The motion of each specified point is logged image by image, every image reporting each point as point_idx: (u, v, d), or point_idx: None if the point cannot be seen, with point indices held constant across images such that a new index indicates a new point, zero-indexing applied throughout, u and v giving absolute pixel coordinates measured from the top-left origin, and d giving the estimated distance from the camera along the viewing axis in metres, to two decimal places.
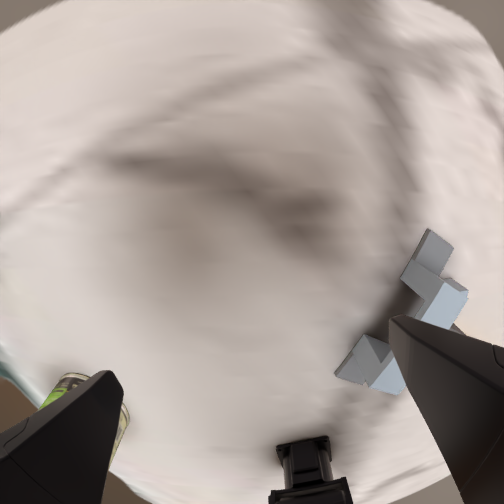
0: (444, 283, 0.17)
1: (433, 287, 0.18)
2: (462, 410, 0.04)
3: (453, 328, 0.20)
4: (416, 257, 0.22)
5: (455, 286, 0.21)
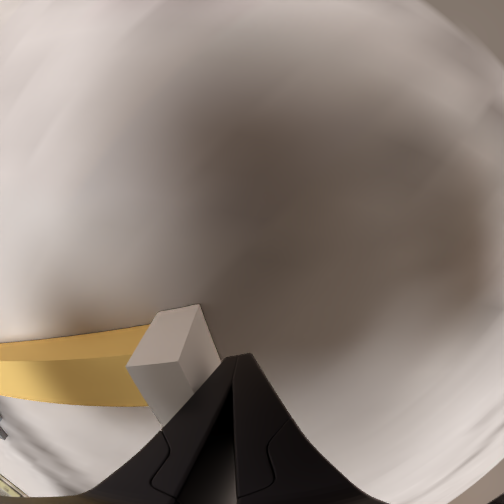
0: None
1: None
2: None
3: None
4: None
5: None
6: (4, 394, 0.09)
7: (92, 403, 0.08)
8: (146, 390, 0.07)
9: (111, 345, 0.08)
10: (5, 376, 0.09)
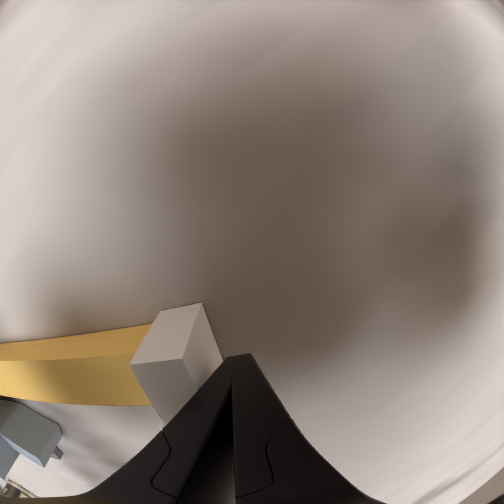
0: None
1: None
2: None
3: None
4: None
5: None
6: (4, 394, 0.09)
7: (94, 402, 0.08)
8: (149, 388, 0.07)
9: (113, 344, 0.08)
10: (6, 376, 0.09)
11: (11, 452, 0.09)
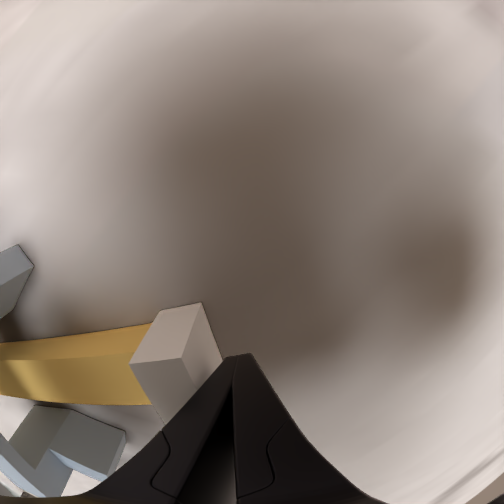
0: None
1: None
2: None
3: None
4: None
5: None
6: (4, 394, 0.09)
7: (94, 402, 0.08)
8: (149, 387, 0.07)
9: (113, 344, 0.08)
10: (7, 376, 0.09)
11: (63, 470, 0.08)
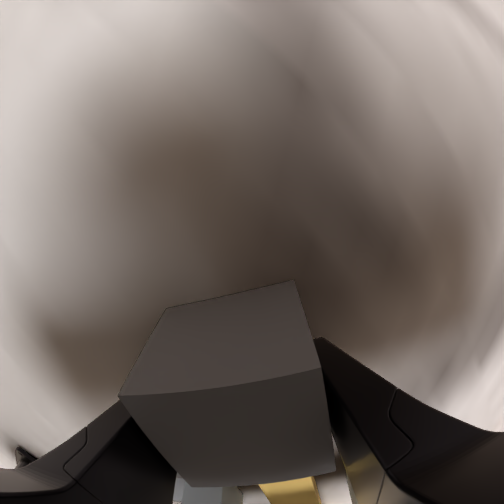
0: None
1: None
2: (353, 454, 0.04)
3: None
4: None
5: None
6: (269, 498, 0.10)
7: None
8: None
9: None
10: None
11: None
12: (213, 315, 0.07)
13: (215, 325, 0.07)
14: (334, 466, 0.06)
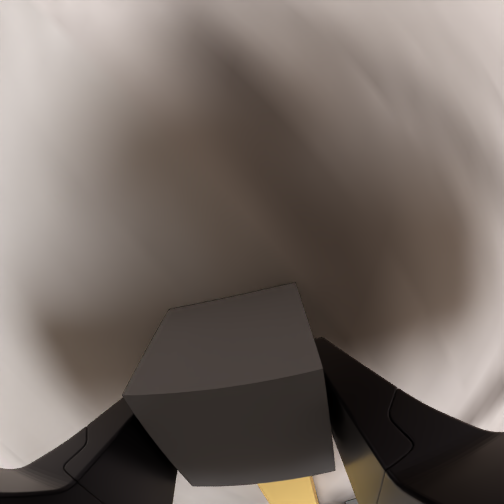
0: None
1: None
2: (353, 454, 0.04)
3: None
4: None
5: None
6: (268, 498, 0.10)
7: None
8: None
9: None
10: None
11: None
12: (216, 317, 0.08)
13: (218, 326, 0.07)
14: (333, 466, 0.06)
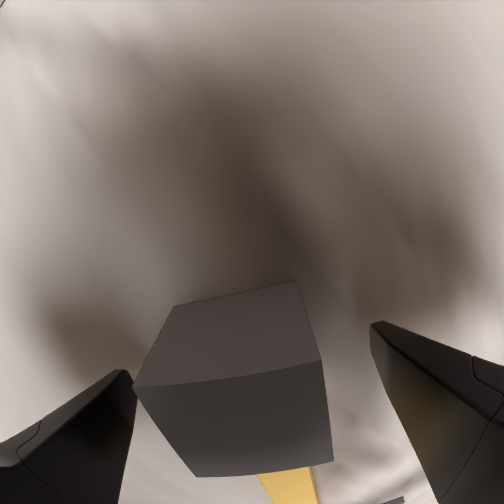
0: None
1: None
2: (437, 422, 0.04)
3: None
4: None
5: None
6: (268, 492, 0.10)
7: None
8: None
9: None
10: (298, 499, 0.11)
11: None
12: (220, 313, 0.08)
13: (222, 322, 0.07)
14: (332, 456, 0.06)
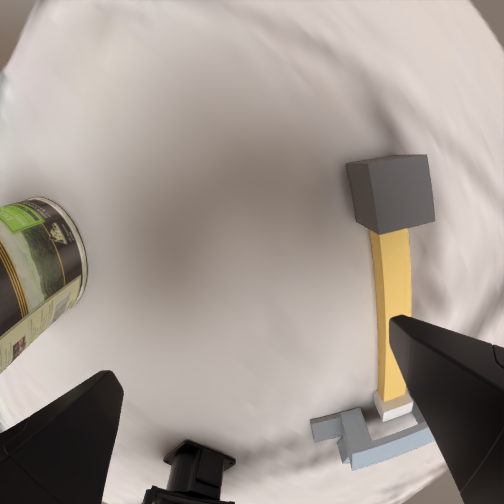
0: None
1: None
2: (462, 410, 0.04)
3: None
4: None
5: None
6: (386, 307, 0.19)
7: (386, 376, 0.21)
8: (405, 406, 0.20)
9: None
10: None
11: None
12: (375, 159, 0.17)
13: (380, 158, 0.16)
14: (434, 216, 0.15)
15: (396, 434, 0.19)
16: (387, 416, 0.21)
